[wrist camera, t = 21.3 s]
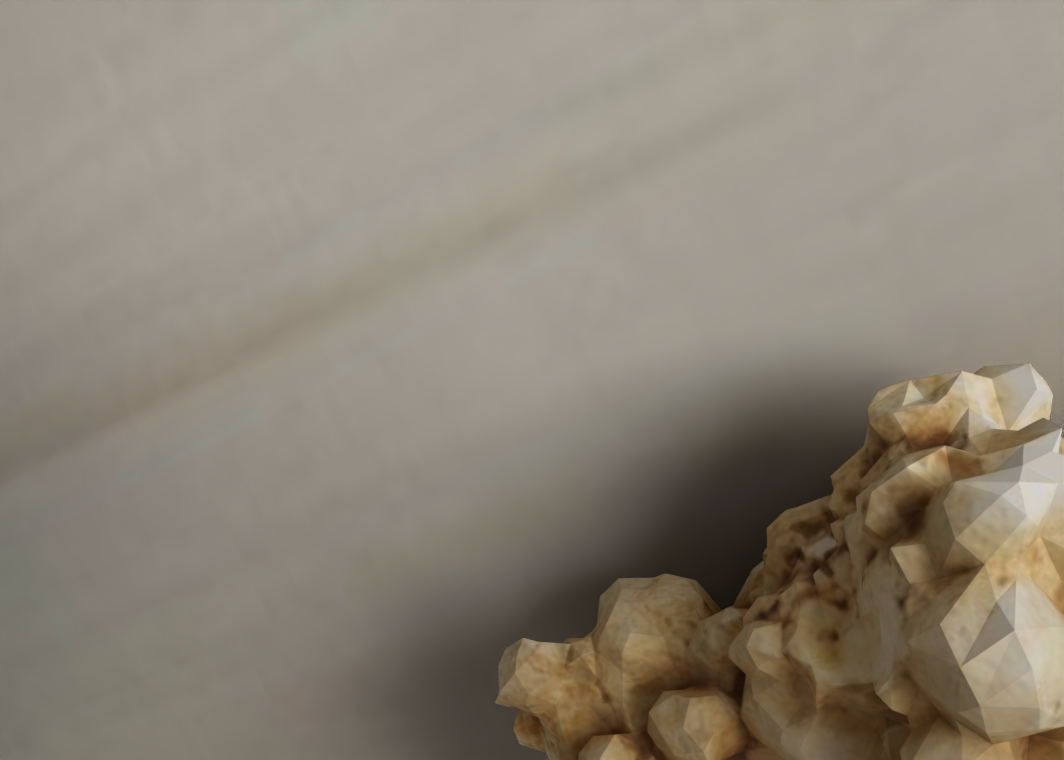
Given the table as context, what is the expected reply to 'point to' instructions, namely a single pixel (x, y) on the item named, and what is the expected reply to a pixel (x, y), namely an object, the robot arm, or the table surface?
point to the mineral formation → (848, 610)
